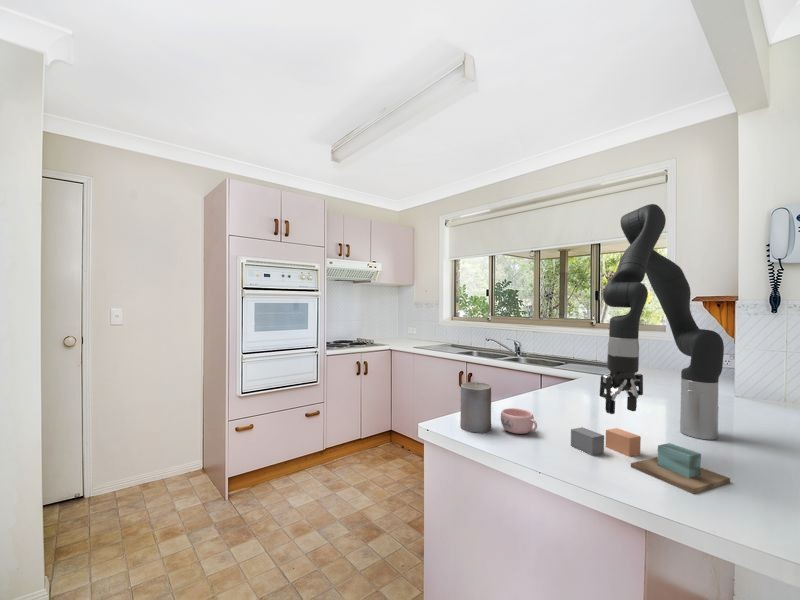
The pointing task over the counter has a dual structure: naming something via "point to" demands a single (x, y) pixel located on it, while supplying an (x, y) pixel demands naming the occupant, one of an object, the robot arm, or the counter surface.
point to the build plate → (679, 479)
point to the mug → (517, 420)
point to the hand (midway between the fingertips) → (620, 411)
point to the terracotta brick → (623, 442)
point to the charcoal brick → (587, 441)
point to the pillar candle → (475, 407)
